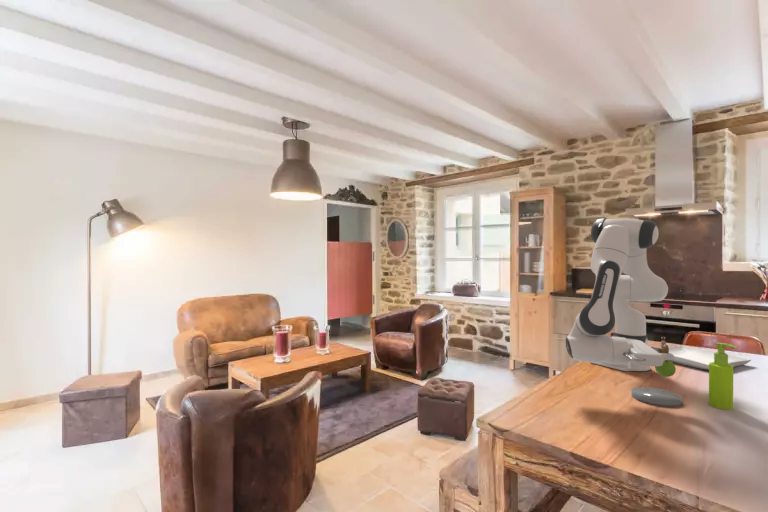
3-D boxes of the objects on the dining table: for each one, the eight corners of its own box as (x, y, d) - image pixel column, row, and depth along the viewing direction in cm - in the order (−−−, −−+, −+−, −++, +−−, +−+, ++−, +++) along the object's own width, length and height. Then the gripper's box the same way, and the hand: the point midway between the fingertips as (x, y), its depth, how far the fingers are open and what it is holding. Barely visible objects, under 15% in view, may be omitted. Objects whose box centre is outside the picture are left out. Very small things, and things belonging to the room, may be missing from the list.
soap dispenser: (732, 412, 120) (732, 346, 119) (705, 404, 126) (705, 342, 125) (740, 408, 122) (741, 344, 122) (714, 401, 128) (714, 340, 128)
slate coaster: (625, 398, 131) (625, 393, 131) (638, 388, 141) (638, 384, 141) (677, 410, 121) (677, 405, 121) (686, 398, 130) (686, 394, 130)
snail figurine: (672, 373, 128) (673, 337, 128) (677, 380, 122) (678, 342, 122) (652, 371, 131) (653, 336, 130) (656, 377, 125) (657, 340, 124)
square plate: (715, 375, 156) (715, 365, 156) (646, 358, 181) (646, 349, 181) (752, 367, 167) (752, 358, 167) (682, 352, 192) (682, 344, 192)
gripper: (629, 349, 120) (682, 352, 116) (611, 334, 140) (656, 337, 135) (629, 369, 120) (682, 373, 116) (611, 352, 140) (656, 355, 136)
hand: (668, 353), depth 126 cm, fingers closed on snail figurine, 5 cm apart
